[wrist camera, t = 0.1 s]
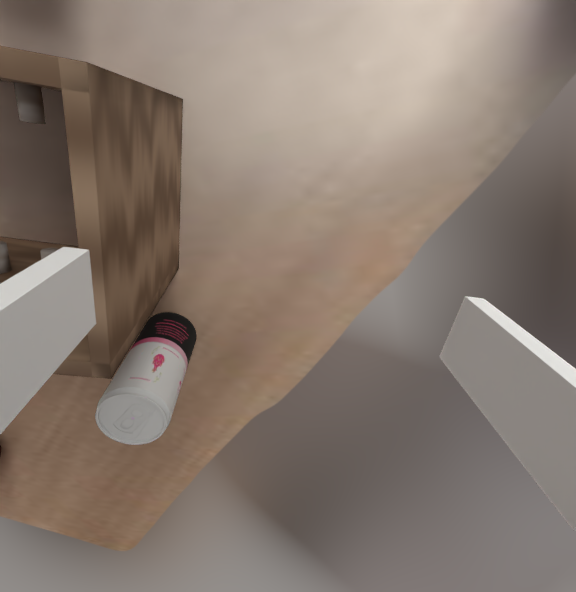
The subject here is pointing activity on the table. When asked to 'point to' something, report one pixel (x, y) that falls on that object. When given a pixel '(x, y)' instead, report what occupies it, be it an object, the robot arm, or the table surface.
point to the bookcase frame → (108, 194)
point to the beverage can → (148, 381)
